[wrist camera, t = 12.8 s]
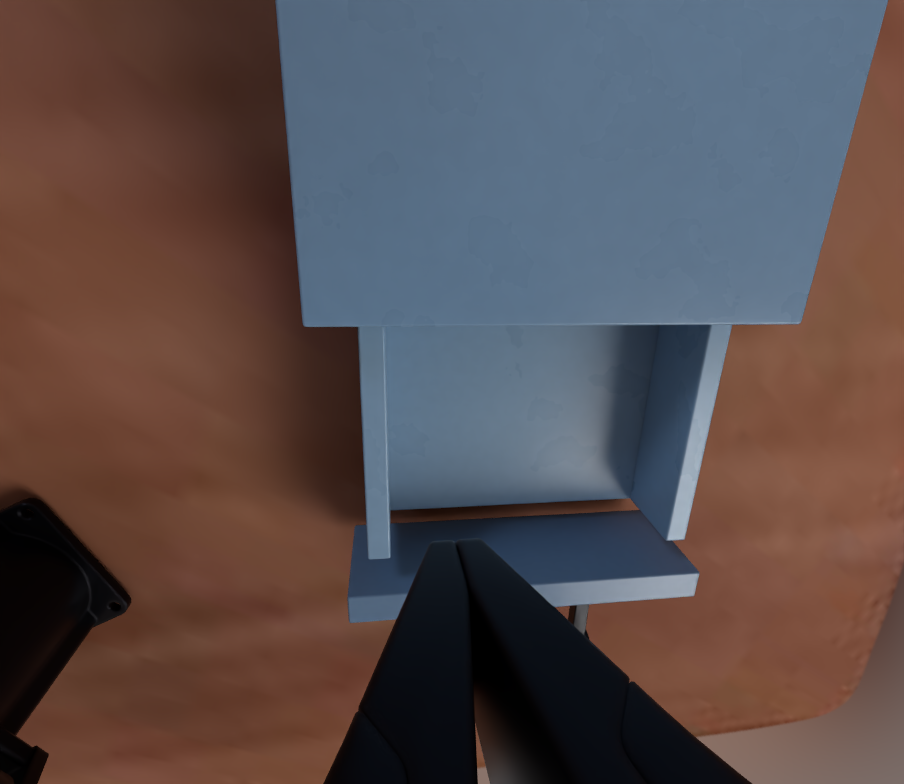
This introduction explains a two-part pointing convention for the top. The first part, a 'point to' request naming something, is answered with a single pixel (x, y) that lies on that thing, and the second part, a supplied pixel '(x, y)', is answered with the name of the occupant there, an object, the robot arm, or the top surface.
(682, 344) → the drawer
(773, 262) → the cabinet
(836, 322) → the top surface
